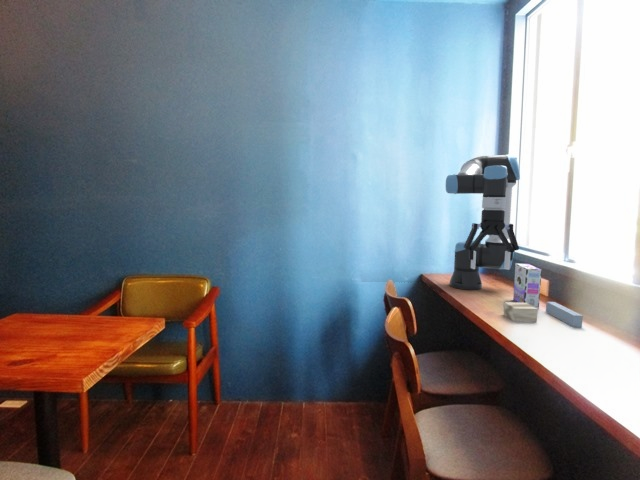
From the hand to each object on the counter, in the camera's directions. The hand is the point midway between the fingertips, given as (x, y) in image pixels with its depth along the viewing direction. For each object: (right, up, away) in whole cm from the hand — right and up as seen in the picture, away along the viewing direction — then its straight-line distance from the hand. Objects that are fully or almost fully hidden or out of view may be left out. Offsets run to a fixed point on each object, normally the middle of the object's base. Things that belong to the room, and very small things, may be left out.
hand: (489, 268), depth 132 cm
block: (+12, -19, +1) cm, 22 cm away
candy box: (+24, -17, +19) cm, 35 cm away
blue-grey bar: (+27, -18, 0) cm, 33 cm away
